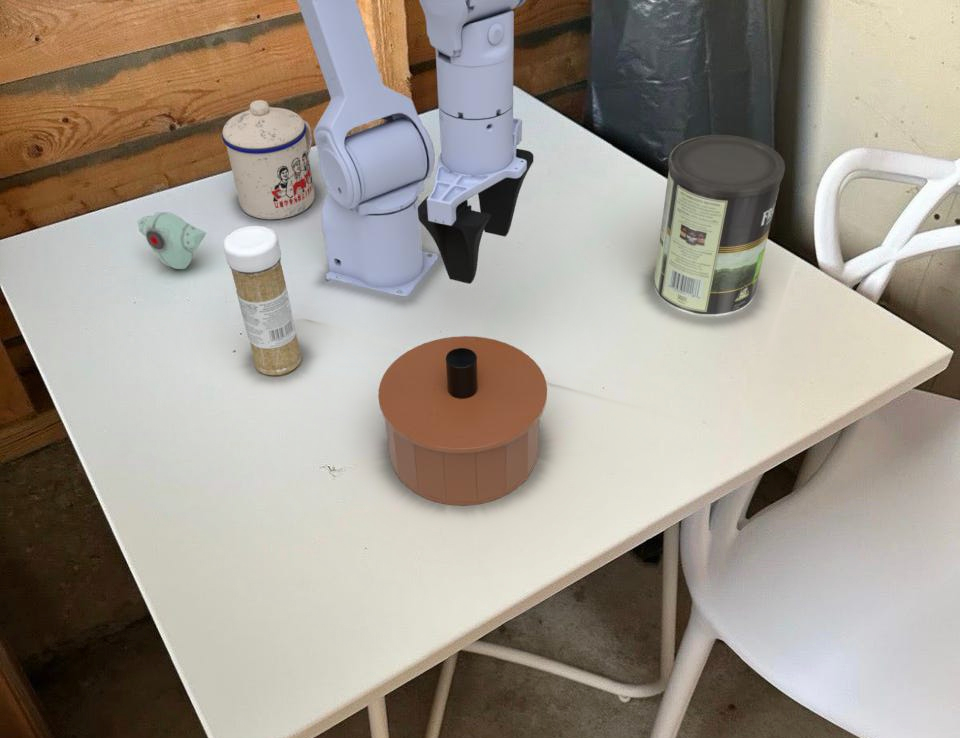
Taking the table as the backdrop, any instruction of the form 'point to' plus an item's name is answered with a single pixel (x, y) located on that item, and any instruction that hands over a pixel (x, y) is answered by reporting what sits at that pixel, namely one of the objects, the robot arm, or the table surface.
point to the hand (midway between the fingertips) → (479, 255)
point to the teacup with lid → (270, 161)
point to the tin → (464, 469)
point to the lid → (462, 394)
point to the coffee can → (716, 223)
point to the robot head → (171, 238)
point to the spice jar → (263, 298)
